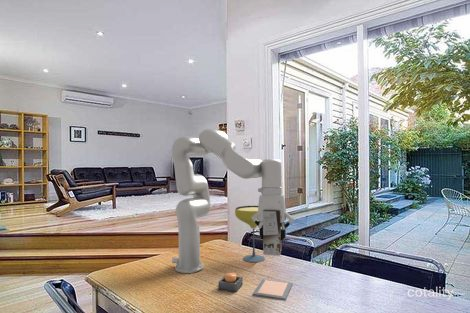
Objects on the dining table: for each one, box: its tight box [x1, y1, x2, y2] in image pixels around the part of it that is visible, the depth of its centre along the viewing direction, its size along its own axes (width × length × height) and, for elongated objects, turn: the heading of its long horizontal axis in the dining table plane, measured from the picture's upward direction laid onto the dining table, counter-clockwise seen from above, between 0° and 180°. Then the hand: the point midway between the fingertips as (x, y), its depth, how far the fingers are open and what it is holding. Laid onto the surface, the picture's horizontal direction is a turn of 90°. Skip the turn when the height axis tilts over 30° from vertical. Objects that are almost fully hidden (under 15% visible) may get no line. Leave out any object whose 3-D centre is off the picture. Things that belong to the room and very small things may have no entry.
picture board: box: [252, 278, 293, 301], centre depth 112 cm, size 12×14×1 cm
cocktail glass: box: [234, 205, 266, 263], centre depth 148 cm, size 18×18×25 cm
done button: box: [224, 272, 237, 283], centre depth 115 cm, size 4×4×3 cm
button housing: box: [217, 275, 243, 293], centre depth 115 cm, size 7×7×3 cm
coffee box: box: [262, 210, 282, 257], centre depth 113 cm, size 9×6×16 cm
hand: (272, 238), depth 113 cm, fingers closed on coffee box, 7 cm apart
